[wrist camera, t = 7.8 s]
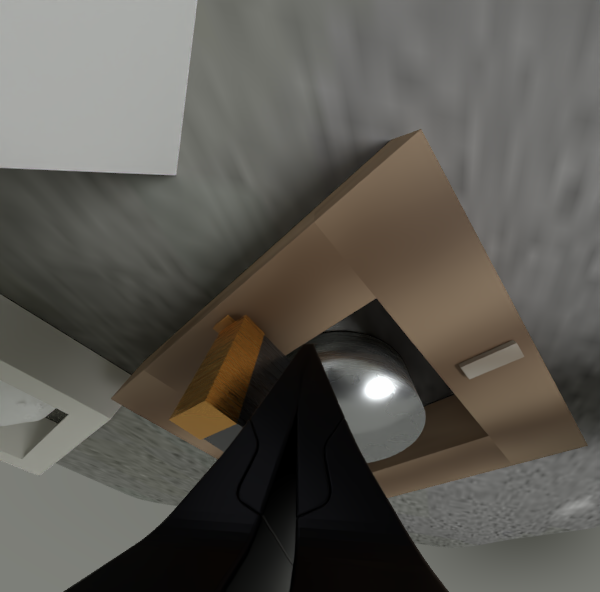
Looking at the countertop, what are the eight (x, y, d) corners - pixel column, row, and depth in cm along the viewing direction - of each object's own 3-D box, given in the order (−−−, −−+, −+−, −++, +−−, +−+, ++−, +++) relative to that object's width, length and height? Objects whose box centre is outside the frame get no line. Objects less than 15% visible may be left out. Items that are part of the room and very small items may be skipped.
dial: (428, 396, 16) (502, 546, 10) (322, 434, 19) (325, 567, 13) (317, 241, 11) (319, 339, 5) (198, 325, 14) (104, 454, 8)
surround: (543, 399, 16) (591, 449, 13) (318, 476, 23) (318, 518, 20) (391, 139, 9) (423, 128, 6) (142, 362, 17) (107, 401, 14)
